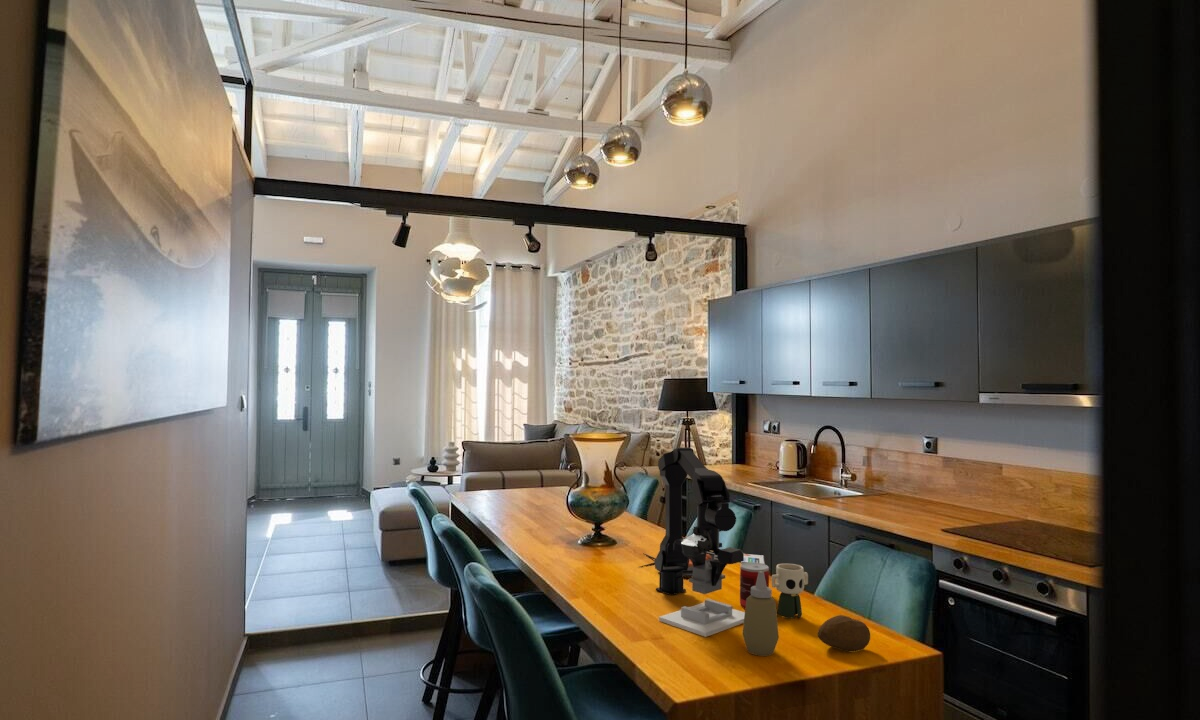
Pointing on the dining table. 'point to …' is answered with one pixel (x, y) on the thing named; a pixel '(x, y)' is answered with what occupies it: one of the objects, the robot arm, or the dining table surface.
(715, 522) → the robot arm
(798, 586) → the character mug
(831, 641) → the potato
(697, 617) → the plate
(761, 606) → the squeeze bottle
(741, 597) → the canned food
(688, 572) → the sushi plate
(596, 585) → the dining table surface
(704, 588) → the block
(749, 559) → the light bulb box
